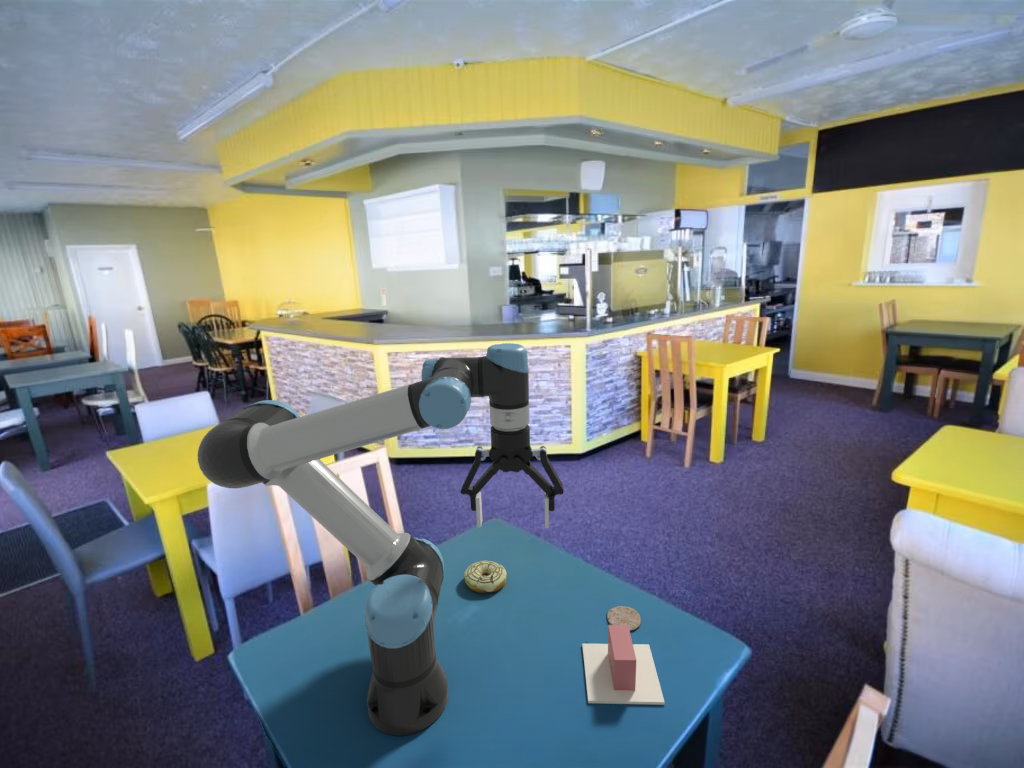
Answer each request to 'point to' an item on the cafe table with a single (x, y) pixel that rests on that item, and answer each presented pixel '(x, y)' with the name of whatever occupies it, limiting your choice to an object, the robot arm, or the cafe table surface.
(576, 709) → the cafe table surface
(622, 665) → the card deck box
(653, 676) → the serving mat
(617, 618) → the flatbread
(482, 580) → the decorated donut
